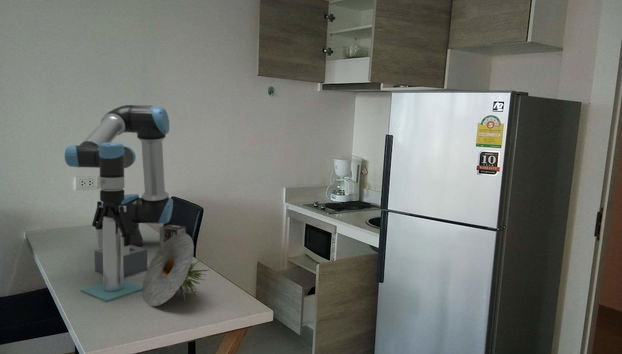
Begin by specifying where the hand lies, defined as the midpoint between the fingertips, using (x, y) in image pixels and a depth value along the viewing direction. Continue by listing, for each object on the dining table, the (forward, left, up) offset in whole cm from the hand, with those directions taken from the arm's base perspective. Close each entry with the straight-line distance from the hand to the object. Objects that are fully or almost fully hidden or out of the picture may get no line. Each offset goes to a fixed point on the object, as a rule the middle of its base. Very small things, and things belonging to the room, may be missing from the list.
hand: (113, 251), depth 158 cm
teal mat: (0, 0, -14) cm, 14 cm away
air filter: (0, 0, -13) cm, 13 cm away
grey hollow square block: (-14, -16, -14) cm, 25 cm away
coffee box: (-30, -5, -14) cm, 33 cm away
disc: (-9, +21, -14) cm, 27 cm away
